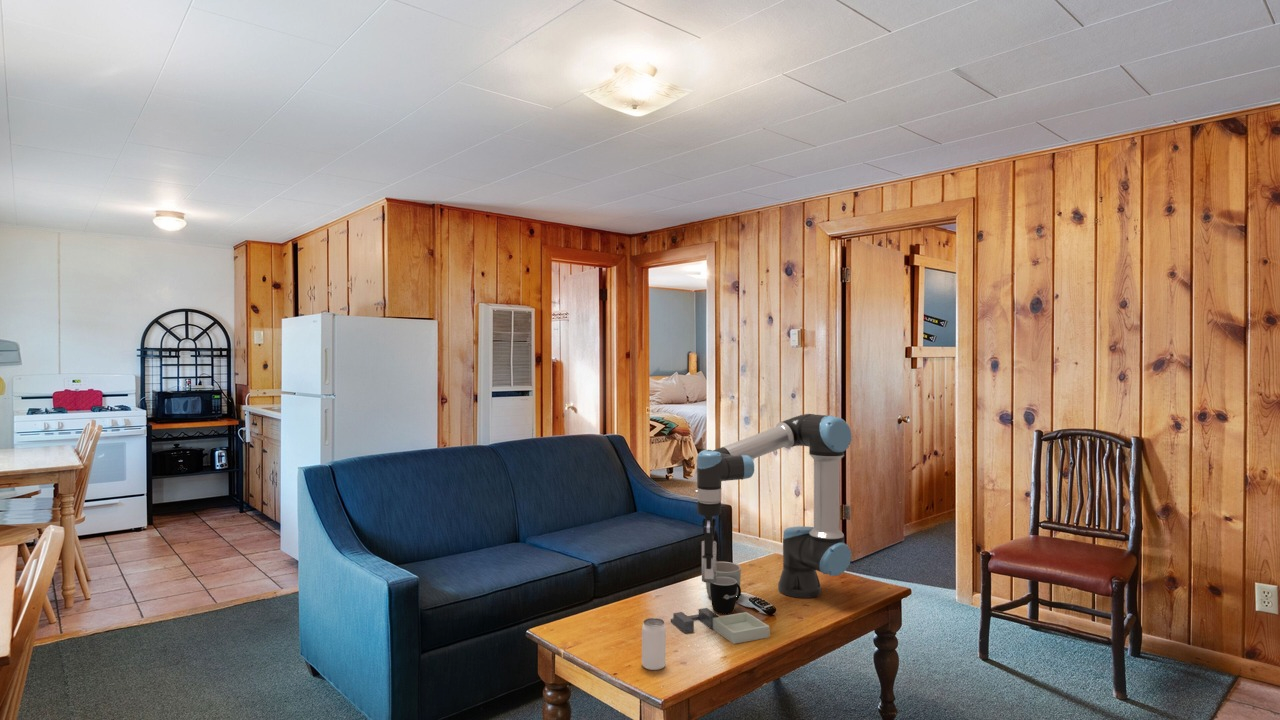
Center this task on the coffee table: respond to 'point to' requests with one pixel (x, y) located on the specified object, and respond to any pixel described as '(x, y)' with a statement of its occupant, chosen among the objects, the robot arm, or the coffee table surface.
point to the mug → (724, 595)
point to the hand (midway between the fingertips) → (709, 575)
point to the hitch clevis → (687, 622)
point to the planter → (727, 573)
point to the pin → (713, 564)
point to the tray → (740, 627)
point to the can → (653, 644)
